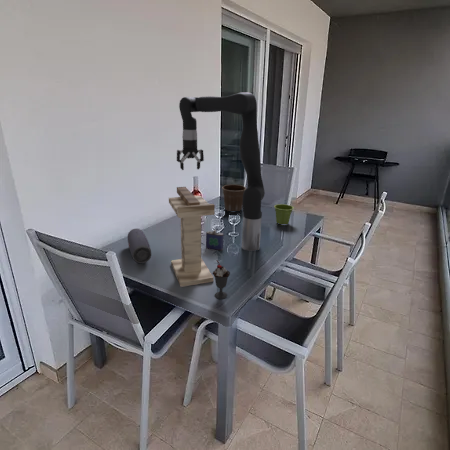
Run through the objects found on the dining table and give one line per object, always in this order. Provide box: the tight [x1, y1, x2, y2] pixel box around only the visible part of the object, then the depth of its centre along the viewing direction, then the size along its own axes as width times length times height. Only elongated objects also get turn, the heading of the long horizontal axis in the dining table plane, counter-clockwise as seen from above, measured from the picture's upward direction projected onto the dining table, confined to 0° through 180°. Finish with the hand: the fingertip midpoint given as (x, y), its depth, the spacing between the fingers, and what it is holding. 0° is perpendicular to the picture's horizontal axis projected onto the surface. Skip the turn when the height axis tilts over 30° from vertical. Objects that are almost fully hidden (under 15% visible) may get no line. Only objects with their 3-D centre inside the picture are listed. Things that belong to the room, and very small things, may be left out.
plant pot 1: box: [221, 184, 247, 212], centre depth 218 cm, size 16×16×16 cm
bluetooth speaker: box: [127, 228, 152, 264], centre depth 152 cm, size 23×9×10 cm, turn 22°
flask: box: [205, 229, 225, 252], centre depth 160 cm, size 9×3×11 cm, turn 74°
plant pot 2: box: [273, 203, 295, 225], centre depth 196 cm, size 12×12×11 cm
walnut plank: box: [176, 186, 200, 206], centre depth 132 cm, size 24×4×2 cm, turn 20°
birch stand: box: [168, 195, 216, 288], centre depth 133 cm, size 20×14×34 cm
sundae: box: [212, 259, 231, 300], centre depth 121 cm, size 7×7×15 cm
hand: (190, 169), depth 170 cm, fingers open, 8 cm apart
